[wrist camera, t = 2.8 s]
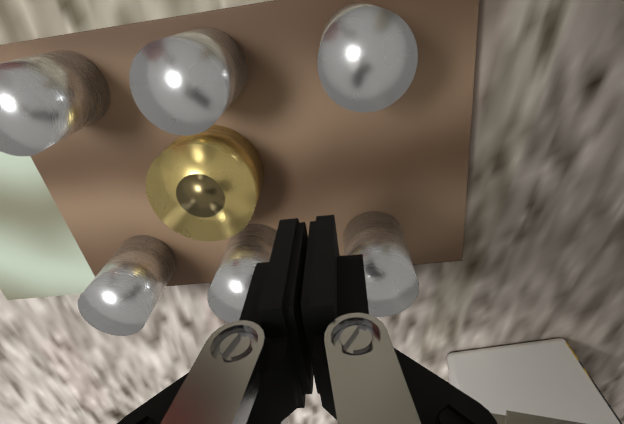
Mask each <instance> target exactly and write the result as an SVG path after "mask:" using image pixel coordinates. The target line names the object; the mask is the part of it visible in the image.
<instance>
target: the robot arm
mask: <svg viewBox="0 0 624 424" xmlns="http://www.w3.org/2000/svg"><path fill="white" fill-rule="evenodd" d="M313 375H314V378H315V383H316V388H317V392H318V394H320V396H321V401H322V406H323V408H324V409H326V410H327V411H328V412H329V413H330V414H331V415H332V416H333V417H334V418H335V419H336V420H337V422H338V424H585V423H579V422H573V421H567V420H561V419H555V418H549V417H543V416H537V415H531V414H526V413H520V412H514V411H508V410H506V415H500V414H494V413H490V411H489V410H488V409H486V408H485V407H484V406H483V405H482V404H480V403H479V402H478V401H476V400H475V399H473V398H471V397H470V396H468V395H467V394H465V393H464V392H462V391H461V390H459V389H457V388H456V387H454V386H453V385H451V384H450V383H448V382H446V381H445V380H443V379H442V378H440V377H439V376H437V375H436V374H434V373H432V372H431V371H429V370H428V369H426V368H425V367H423V366H421V365H420V364H418V363H417V362H415V361H414V360H412V359H411V358H409V357H407V356H406V355H404V354H403V353H401V352H400V351H398V350H396V349H395V348H393V345H392V342H391V340H390V337H389V334H388V331H387V329H386V327H385V326H384V324H383V323H382V322H381V321H380V320H379V319H377V318H376V317H374V316H371V315H369V309H368V299H367V290H366V281H365V272H364V263H363V254H356V255H344V256H340V254H339V247H338V239H337V231H336V223H335V216H334V215H324V216H316V221H310V225H309V234H307V228H306V224H305V222H299V219H298V218H293V219H283V220H280V221H279V225H278V229H277V233H276V237H275V241H274V245H273V249H272V253H271V257H270V261H269V262H261V263H257V264H256V266H255V269H254V272H253V276H252V279H251V282H250V286H249V289H248V292H247V296H246V299H245V302H244V306H243V309H242V312H241V316H240V319H239V321H234V322H231V323H227V324H225V325H224V326H222V327H220V328H218V329H217V330H216V331H215V332H213V333H212V334H211V336H210V337H209V338H208V340H207V341H206V343H205V345H204V346H203V348H202V350H201V352H200V353H199V355H198V357H197V359H196V361H195V362H194V364H193V366H192V368H191V370H190V371H189V373H187V374H186V375H184V376H183V377H181V378H180V379H179V380H177V381H176V382H174V383H173V384H171V385H170V386H169V387H167V388H166V389H164V390H163V391H161V392H160V393H158V394H157V395H156V396H154V397H153V398H151V399H150V400H148V401H147V402H146V403H144V404H143V405H141V406H140V407H138V408H137V409H136V410H134V411H133V412H131V413H130V414H128V415H127V416H126V417H124V418H123V419H122V420H121V421H120V422H119V423H117V424H288V420H287V417H288V416H289V415H290V414H291V413H292V412H293V411H294V410H295V409H297V408H304V406H305V394H312V391H313Z"/></svg>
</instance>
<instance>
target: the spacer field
mask: <svg viewBox="0 0 624 424" xmlns="http://www.w3.org/2000/svg"><path fill="white" fill-rule="evenodd" d="M417 63H418V50H417V44H416V40H415V37H414V35H413V33H412V31H411V29H410V28H409V26H408V25H407V23H406V22H405V21H404V20H403V19H402V18H401V17H399V16H398V15H397V14H395V13H393V12H392V11H390V10H387V9H384V8H381V7H378V6H375V5H372V4H368V3H353V4H349V5H347V6H344V7H343V8H341V9H339V10H338V11H337V12H335V13H334V14H333V15H332V16H331V18H330V19H329V20H328V22H327V23H326V25H325V27H324V29H323V32H322V35H321V40H320V46H319V52H318V60H317V66H318V74H319V78H320V81H321V84H322V86H323V88H324V90H325V91H326V93H327V94H328V95H329V97H330V98H331V99H332V100H333V101H334V102H336V103H337V104H338V105H340V106H341V107H343V108H345V109H348V110H351V111H355V112H362V113H366V112H374V111H378V110H381V109H384V108H386V107H388V106H390V105H391V104H393V103H394V102H396V101H397V100H398V99H399V98H400V97H401V96H402V95H403V94H404V93H405V92H406V90H407V89H408V87H409V86H410V84H411V82H412V80H413V78H414V75H415V72H416V68H417ZM246 80H247V62H246V59H245V56H244V54H243V51H242V50H241V48H240V46H239V45H238V44H237V42H236V41H235V40H234V39H233V38H232V37H230V36H229V35H228V34H226V33H225V32H223V31H221V30H218V29H215V28H210V27H201V28H196V29H193V30H189V31H186V32H182V33H179V34H175V35H172V36H168V37H165V38H161V39H158V40H155V41H152V42H150V43H148V44H147V45H145V46H144V47H143V48H141V49H140V50H139V52H138V53H137V54H136V56H135V57H134V59H133V62H132V64H131V68H130V74H129V82H130V89H131V93H132V96H133V98H134V101H135V103H136V105H137V106H138V108H139V110H140V111H141V112H142V114H143V115H144V116H145V117H146V118H147V119H148V120H149V121H150V122H151V123H153V124H154V125H155V126H157V127H158V128H160V129H162V130H164V131H166V132H169V133H172V134H176V135H183V136H188V135H195V134H199V133H201V132H203V131H205V130H207V129H208V128H210V127H211V126H212V125H213V124H214V123H215V122H216V121H217V120H218V119H219V117H220V116H221V115H222V114H223V113H224V112H225V110H226V109H227V108H228V107H229V106H230V105H231V104H232V102H233V101H234V100H235V99H236V98H237V97H238V95H239V94H240V93H241V92H242V90H243V88H244V86H245V83H246ZM109 105H110V90H109V86H108V83H107V81H106V79H105V77H104V75H103V74H102V72H101V71H100V69H99V68H98V67H97V66H96V65H95V64H94V63H93V62H92V61H91V60H89V59H88V58H86V57H85V56H83V55H81V54H79V53H77V52H74V51H70V50H56V51H52V52H47V53H42V54H38V55H33V56H29V57H24V58H20V59H15V60H11V61H6V62H2V63H0V151H1V152H3V153H6V154H9V155H14V156H22V157H24V156H32V155H35V154H38V153H39V152H41V151H43V150H45V149H47V148H48V147H50V146H52V145H54V144H55V143H57V142H59V141H61V140H63V139H64V138H66V137H68V136H70V135H72V134H73V133H75V132H77V131H79V130H81V129H82V128H84V127H86V126H88V125H89V124H91V123H93V122H95V121H97V120H98V119H100V118H101V117H103V116H104V115H105V113H106V112H107V110H108V108H109ZM276 233H277V231H275V230H274V229H273V228H271V227H269V226H266V225H263V224H256V223H254V224H247V225H246V227H245V228H244V229H243V230H241V231H240V232H239V233H238V234H236V235H234V236H232V237H230V239H229V241H228V244H227V246H226V249H225V251H224V254H223V256H222V259H221V261H220V264H219V266H218V269H217V271H216V274H215V276H214V279H213V281H212V284H211V286H210V289H209V291H208V303H209V306H210V308H211V310H212V311H213V312H214V313H215V314H216V315H217V316H218V317H219V318H220V319H222V320H224V321H225V322H228V323H231V322H234V321H239V319H240V316H241V312H242V309H243V306H244V302H245V299H246V296H247V292H248V289H249V286H250V282H251V279H252V276H253V272H254V269H255V266H256V264H257V263H261V262H269V261H270V257H271V253H272V249H273V245H274V241H275V237H276ZM343 245H344V255H356V254H363V263H364V272H365V281H366V290H367V299H368V309H369V315H371V316H377V317H384V316H391V315H395V314H398V313H400V312H402V311H404V310H405V309H407V308H408V307H409V306H410V305H411V304H412V303H413V302H414V301H415V299H416V297H417V295H418V292H419V283H418V280H417V276H416V273H415V270H414V267H413V263H412V260H411V257H410V254H409V250H408V247H407V244H406V241H405V237H404V234H403V231H402V228H401V225H400V224H399V222H398V221H397V220H396V219H395V218H394V217H393V216H391V215H389V214H387V213H384V212H379V211H370V212H365V213H362V214H359V215H358V216H356V217H354V218H353V219H352V220H351V221H350V222H349V223H348V224H347V226H346V227H345V230H344V233H343ZM175 268H176V257H175V254H174V252H173V251H172V249H171V248H170V247H169V246H168V245H167V244H166V243H164V242H163V241H161V240H159V239H157V238H155V237H152V236H148V235H136V236H132V237H130V238H128V239H127V240H125V241H124V243H123V244H122V245H121V246H120V247H119V249H118V250H117V251H116V252H115V254H114V255H113V256H112V257H111V258H110V260H109V261H108V262H107V263H106V265H105V266H104V267H103V268H102V270H101V271H100V272H99V273H98V274H97V276H96V277H95V278H94V279H93V281H92V282H91V283H90V284H89V285H88V287H87V288H86V289H85V290H84V292H83V293H82V294H81V295H80V297H79V300H78V308H79V311H80V313H81V315H82V317H83V318H84V319H85V320H86V321H87V322H88V323H89V324H90V325H91V326H93V327H94V328H96V329H98V330H100V331H102V332H104V333H107V334H111V335H117V336H126V335H131V334H134V333H137V332H138V331H140V330H141V329H142V328H143V326H144V325H145V323H146V321H147V319H148V318H149V316H150V314H151V312H152V310H153V309H154V307H155V305H156V303H157V301H158V299H159V298H160V296H161V294H162V292H163V290H164V289H165V287H166V285H167V283H168V281H169V280H170V278H171V276H172V274H173V272H174V270H175Z"/></svg>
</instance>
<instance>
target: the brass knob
mask: <svg viewBox="0 0 624 424" xmlns="http://www.w3.org/2000/svg"><path fill="white" fill-rule="evenodd" d="M263 181H264V169H263V164H262V160H261V158H260V156H259V154H258V152H257V150H256V149H255V148H254V146H253V145H252V144H251V143H250V142H249V141H248V140H247V139H246V138H245V137H244V136H242V135H241V134H239V133H238V132H236V131H234V130H232V129H230V128H227V127H224V126H220V125H212V126H211V127H210V128H208V129H207V130H205V131H203V132H201V133H199V134H195V135H188V136H183V135H179V136H178V137H177V138H176V139H175V140H174V141H173V142H172V143H171V144H170V145H169V146H168V147H167V148H166V149H165V150H164V151H163V152H162V153H161V154H160V155H159V156H158V157H157V158H156V159H155V160H154V161H153V163H152V164H151V166H150V168H149V170H148V173H147V176H146V193H147V197H148V200H149V203H150V205H151V207H152V209H153V211H154V212H155V214H156V215H157V216H158V217H159V219H160V220H161V221H162V222H163V223H164V224H165V225H167V226H168V227H169V228H170V229H172V230H173V231H175V232H177V233H179V234H180V235H182V236H185V237H188V238H191V239H194V240H199V241H220V240H224V239H227V238H230V237H232V236H234V235H236V234H238V233H239V232H240V231H241V230H243V229H244V228H245V227H246V225H247V224H248V223H249V221H250V220H251V218H252V215H253V213H254V210H255V207H256V204H257V201H258V198H259V195H260V192H261V189H262V186H263Z"/></svg>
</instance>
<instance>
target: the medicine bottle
mask: <svg viewBox="0 0 624 424" xmlns="http://www.w3.org/2000/svg"><path fill="white" fill-rule="evenodd" d="M447 364H448V372H449V380H450V384H451V385H453V386H454V387H456V388H457V389H459V390H461V391H462V392H464V393H465V394H467V395H468V396H470V397H471V398H473V399H475V400H476V401H478V402H479V403H480V404H482V405H483V406H484V407H485V408H486V409H488V410H489V411H490V413H494V414H500V415H506V410H508V411H514V412H520V413H526V414H531V415H537V416H543V417H549V418H555V419H561V420H567V421H573V422H579V423H585V424H622V423H621V421H620V420H619V418H618V417H617V415H616V414H615V413H614V411H613V410H612V408H611V407H610V405H609V404H608V402H607V401H606V399H605V398H604V396H603V395H602V393H601V392H600V390H599V389H598V387H597V386H596V384H595V383H594V381H593V380H592V379H591V377H590V376H589V374H588V373H587V371H586V370H585V368H584V367H583V365H582V364H581V362H580V361H579V359H578V358H577V356H576V355H575V353H574V352H573V350H572V349H571V347H570V346H569V345H568V343H567V342H566V341H565V340H564V339H560V338H557V339H550V340H542V341H535V342H527V343H520V344H513V345H505V346H498V347H490V348H483V349H475V350H468V351H460V352H453V353H450V354H448V355H447Z"/></svg>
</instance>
